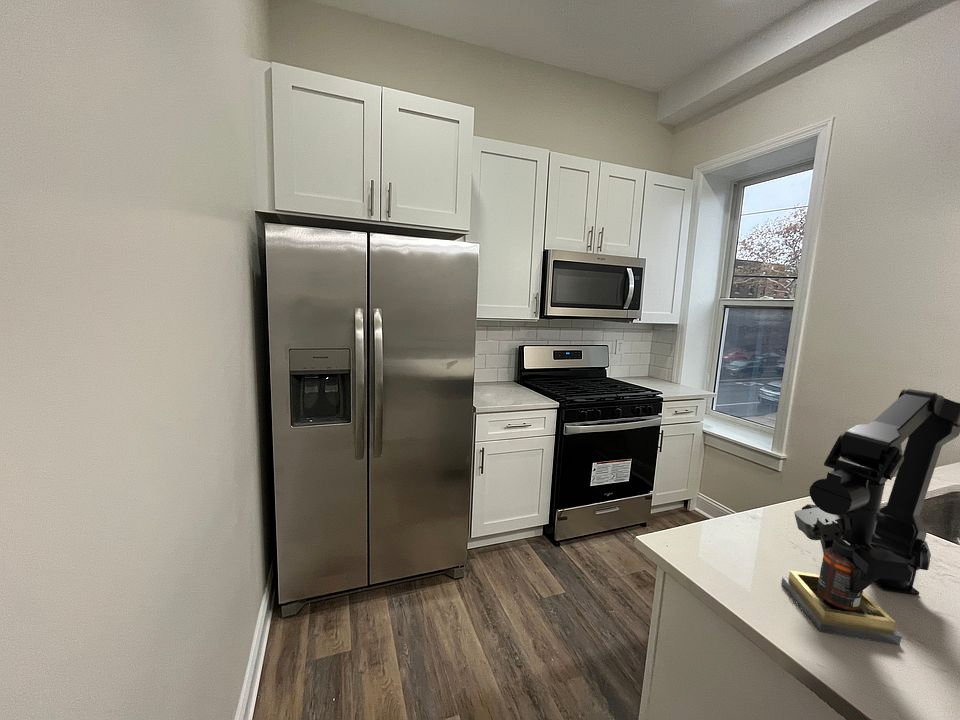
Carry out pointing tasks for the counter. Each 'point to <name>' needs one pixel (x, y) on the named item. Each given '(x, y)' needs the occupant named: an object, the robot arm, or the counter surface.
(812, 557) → the counter surface
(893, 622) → the gold-rimmed square tray
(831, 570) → the supplement bottle
